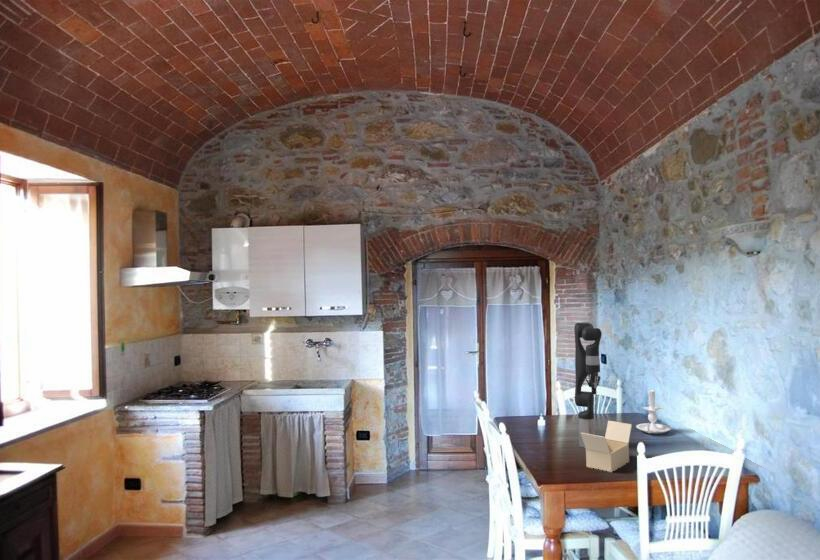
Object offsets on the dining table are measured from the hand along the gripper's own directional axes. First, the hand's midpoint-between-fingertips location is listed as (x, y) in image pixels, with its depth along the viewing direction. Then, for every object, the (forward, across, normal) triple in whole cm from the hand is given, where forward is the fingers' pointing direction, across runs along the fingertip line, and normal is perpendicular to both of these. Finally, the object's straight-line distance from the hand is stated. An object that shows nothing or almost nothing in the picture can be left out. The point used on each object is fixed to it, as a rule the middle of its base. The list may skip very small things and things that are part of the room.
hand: (594, 394), depth 296 cm
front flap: (+22, +17, +8) cm, 29 cm away
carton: (+37, +3, +8) cm, 38 cm away
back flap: (+22, -11, +8) cm, 26 cm away
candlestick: (+37, -72, +3) cm, 81 cm away
